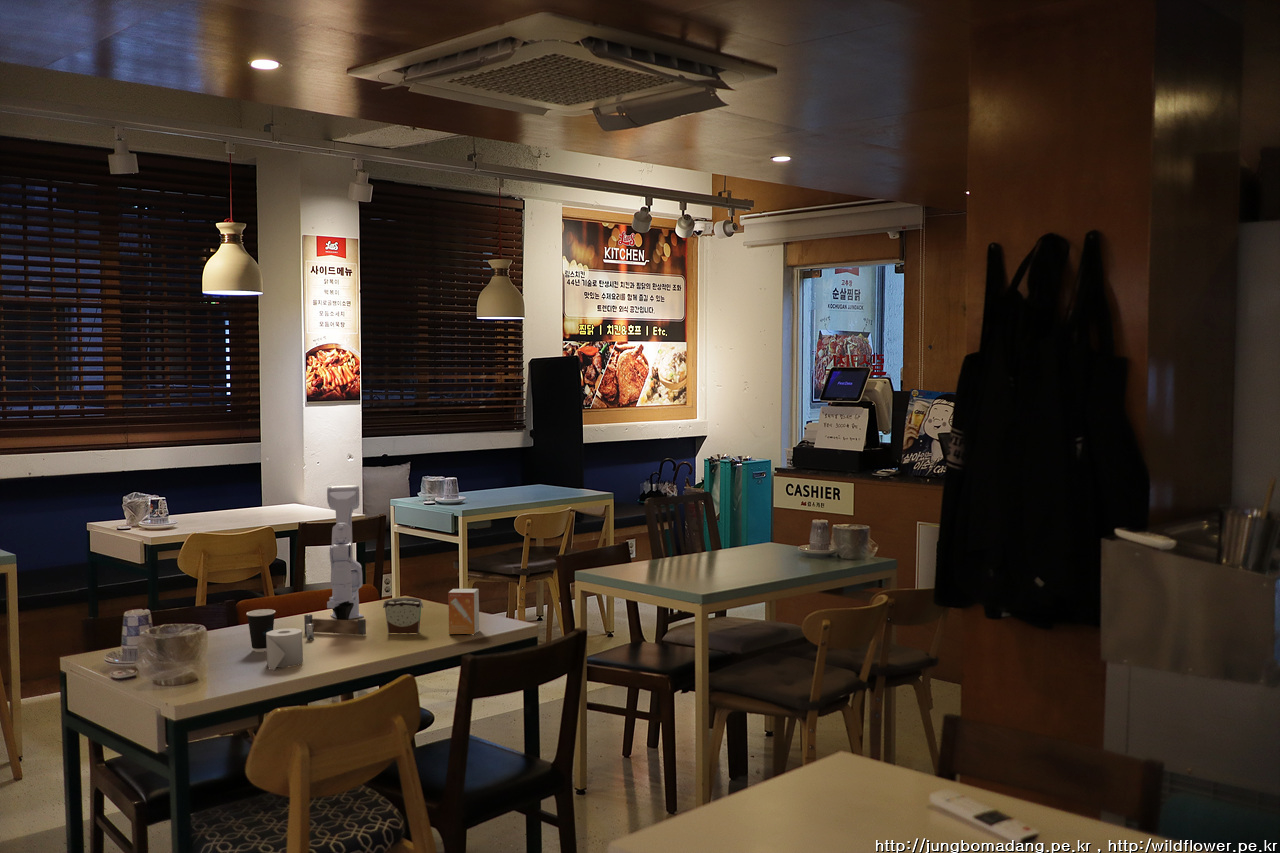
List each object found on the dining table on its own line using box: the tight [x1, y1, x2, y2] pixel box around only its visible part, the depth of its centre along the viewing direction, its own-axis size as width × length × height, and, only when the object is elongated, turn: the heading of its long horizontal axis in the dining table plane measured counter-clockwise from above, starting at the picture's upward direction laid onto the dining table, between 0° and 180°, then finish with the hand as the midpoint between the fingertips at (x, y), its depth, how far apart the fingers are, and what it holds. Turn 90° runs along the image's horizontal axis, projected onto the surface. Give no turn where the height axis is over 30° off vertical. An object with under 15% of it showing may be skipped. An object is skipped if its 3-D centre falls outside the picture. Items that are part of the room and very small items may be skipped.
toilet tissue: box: [266, 627, 304, 671], centre depth 294 cm, size 9×13×9 cm
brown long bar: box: [312, 617, 367, 636], centre depth 330 cm, size 18×2×4 cm, turn 74°
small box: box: [447, 588, 480, 635], centre depth 329 cm, size 8×6×13 cm
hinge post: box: [303, 613, 314, 635], centre depth 333 cm, size 2×2×6 cm
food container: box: [382, 597, 424, 634], centre depth 332 cm, size 12×6×10 cm, turn 84°
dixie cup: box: [246, 608, 277, 653], centre depth 312 cm, size 8×8×11 cm
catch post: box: [306, 624, 315, 641], centre depth 324 cm, size 2×2×4 cm
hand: (343, 627), depth 332 cm, fingers closed
